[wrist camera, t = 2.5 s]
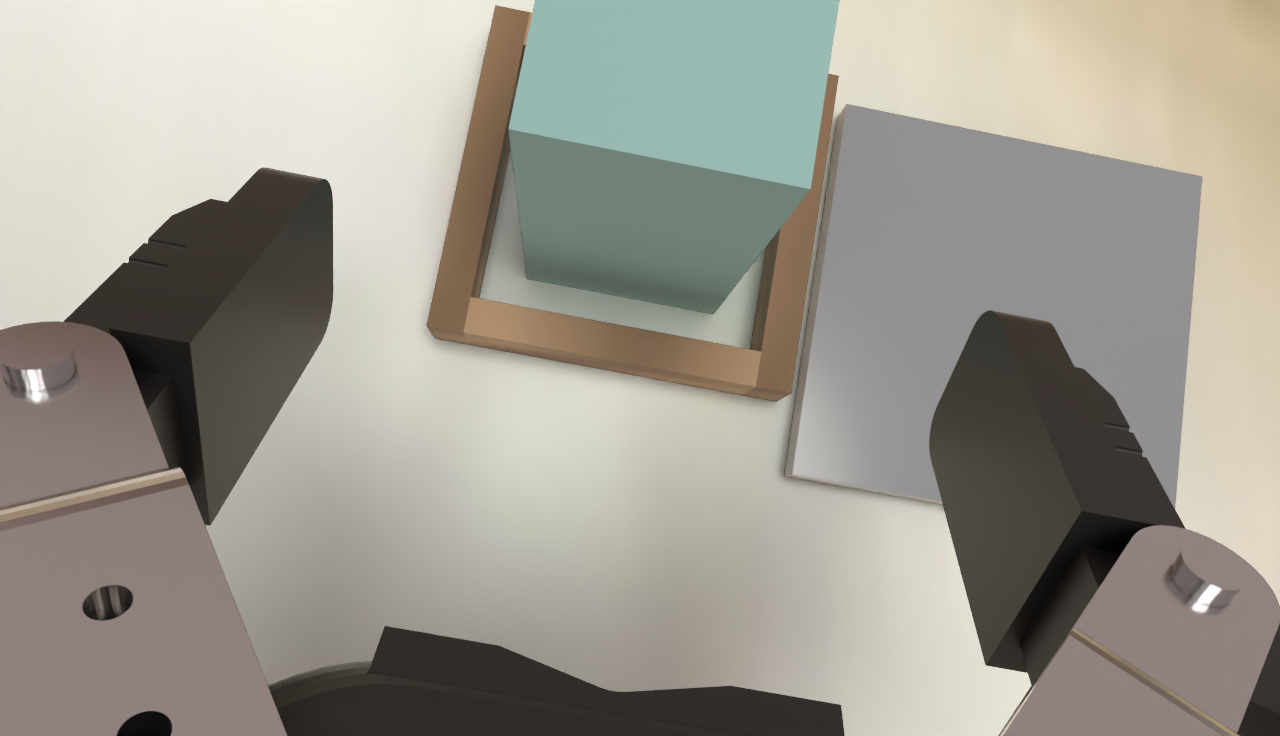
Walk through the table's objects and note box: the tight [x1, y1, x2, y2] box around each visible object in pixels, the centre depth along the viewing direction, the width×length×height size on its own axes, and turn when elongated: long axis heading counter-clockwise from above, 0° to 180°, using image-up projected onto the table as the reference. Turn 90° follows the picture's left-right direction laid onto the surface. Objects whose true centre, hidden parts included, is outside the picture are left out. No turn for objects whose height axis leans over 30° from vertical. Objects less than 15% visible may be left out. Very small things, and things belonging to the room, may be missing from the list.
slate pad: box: [784, 104, 1202, 509], centre depth 23 cm, size 9×9×1 cm
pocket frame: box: [427, 5, 839, 401], centre depth 23 cm, size 8×8×2 cm
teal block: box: [509, 0, 839, 314], centre depth 19 cm, size 4×4×9 cm
